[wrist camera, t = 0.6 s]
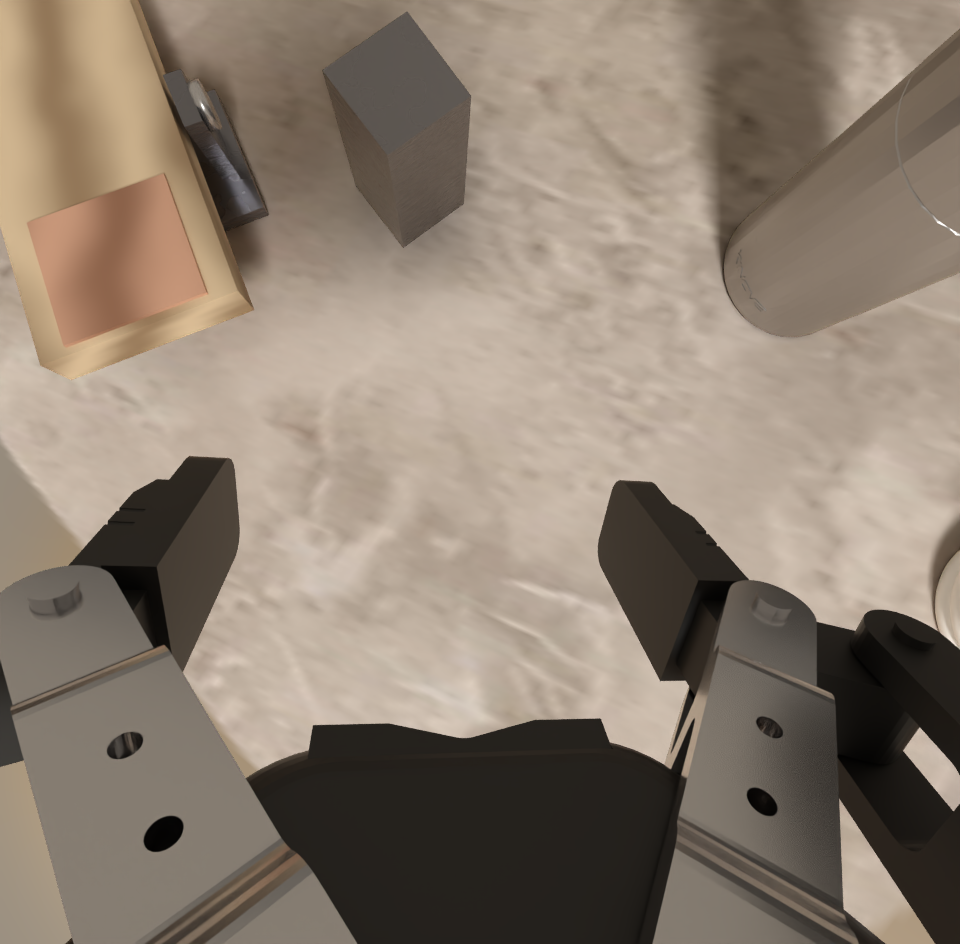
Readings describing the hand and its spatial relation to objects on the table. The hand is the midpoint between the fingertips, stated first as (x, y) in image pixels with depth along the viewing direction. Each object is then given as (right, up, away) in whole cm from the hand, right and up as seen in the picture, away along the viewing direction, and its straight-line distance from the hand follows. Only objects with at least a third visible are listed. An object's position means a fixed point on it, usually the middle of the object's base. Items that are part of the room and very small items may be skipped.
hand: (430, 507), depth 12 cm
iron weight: (-4, +19, +24) cm, 31 cm away
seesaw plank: (-20, +19, +18) cm, 33 cm away
